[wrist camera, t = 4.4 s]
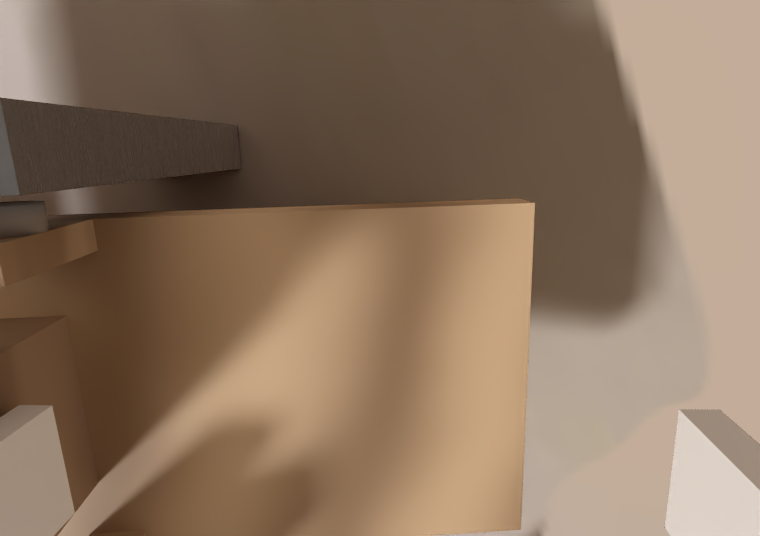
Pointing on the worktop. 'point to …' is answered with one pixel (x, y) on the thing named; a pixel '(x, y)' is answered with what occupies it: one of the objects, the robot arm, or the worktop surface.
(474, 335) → the tan piece
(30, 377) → the block
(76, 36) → the worktop surface
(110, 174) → the fulcrum
